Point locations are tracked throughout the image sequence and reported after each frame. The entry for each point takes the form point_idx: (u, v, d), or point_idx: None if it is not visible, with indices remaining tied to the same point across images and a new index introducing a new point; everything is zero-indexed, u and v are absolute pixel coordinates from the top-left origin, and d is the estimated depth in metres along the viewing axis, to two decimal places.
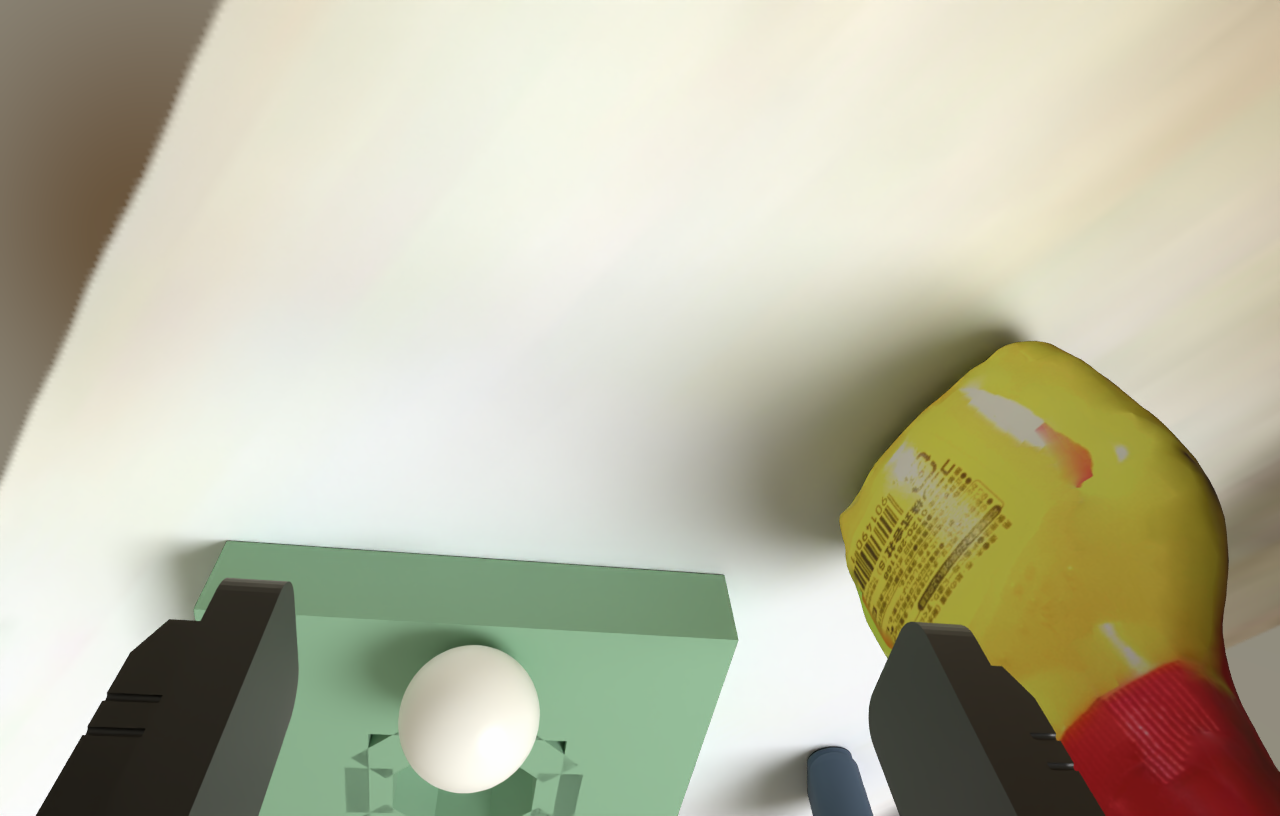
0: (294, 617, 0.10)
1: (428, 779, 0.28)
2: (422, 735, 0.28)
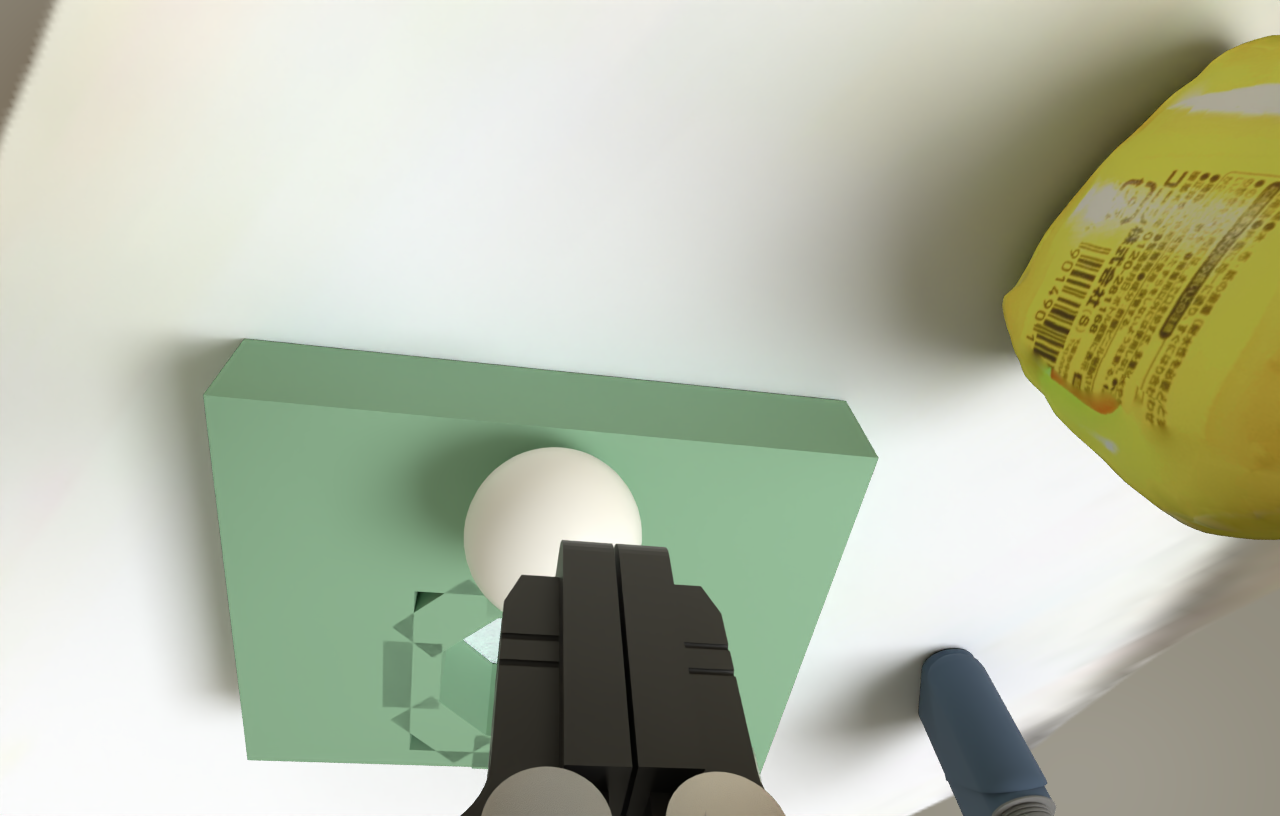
0: None
1: None
2: (500, 536, 0.21)
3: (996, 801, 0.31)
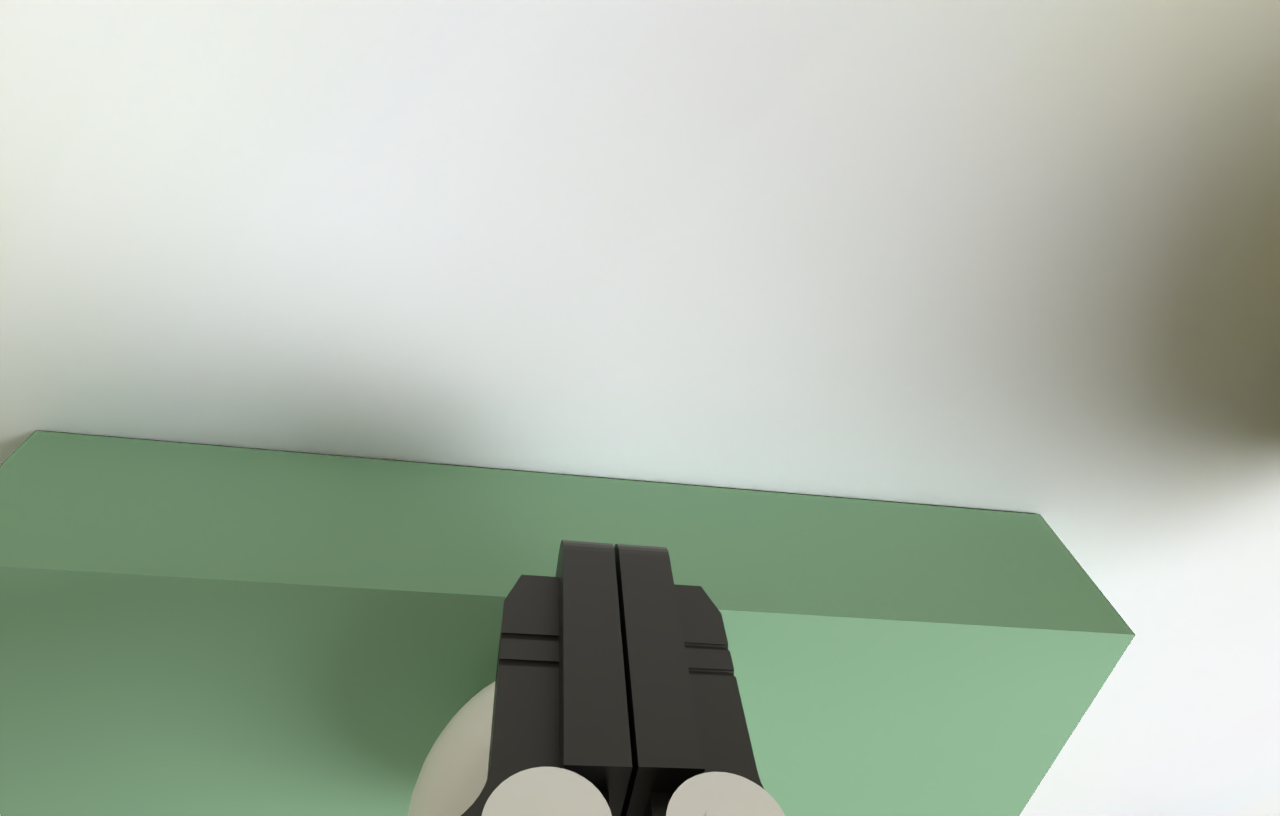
0: None
1: None
2: None
3: None
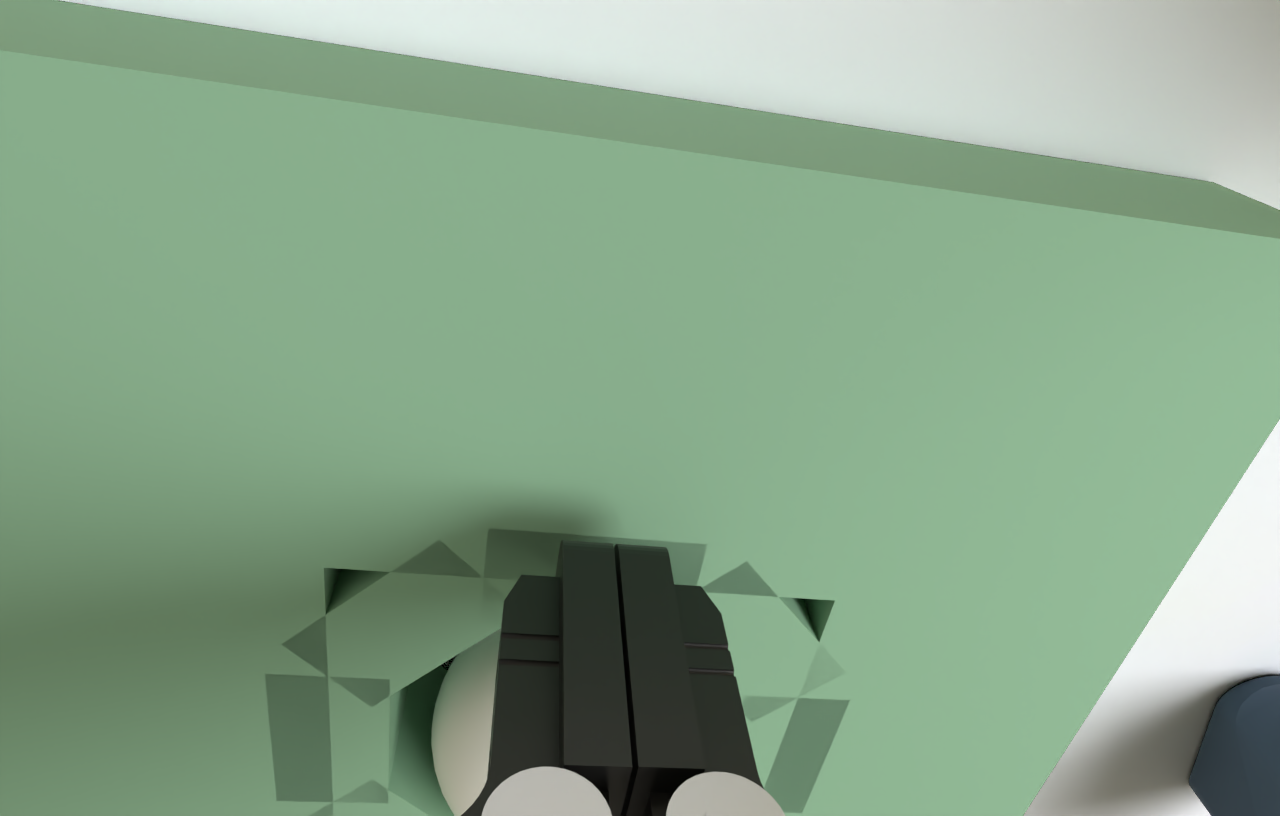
0: None
1: None
2: None
3: None
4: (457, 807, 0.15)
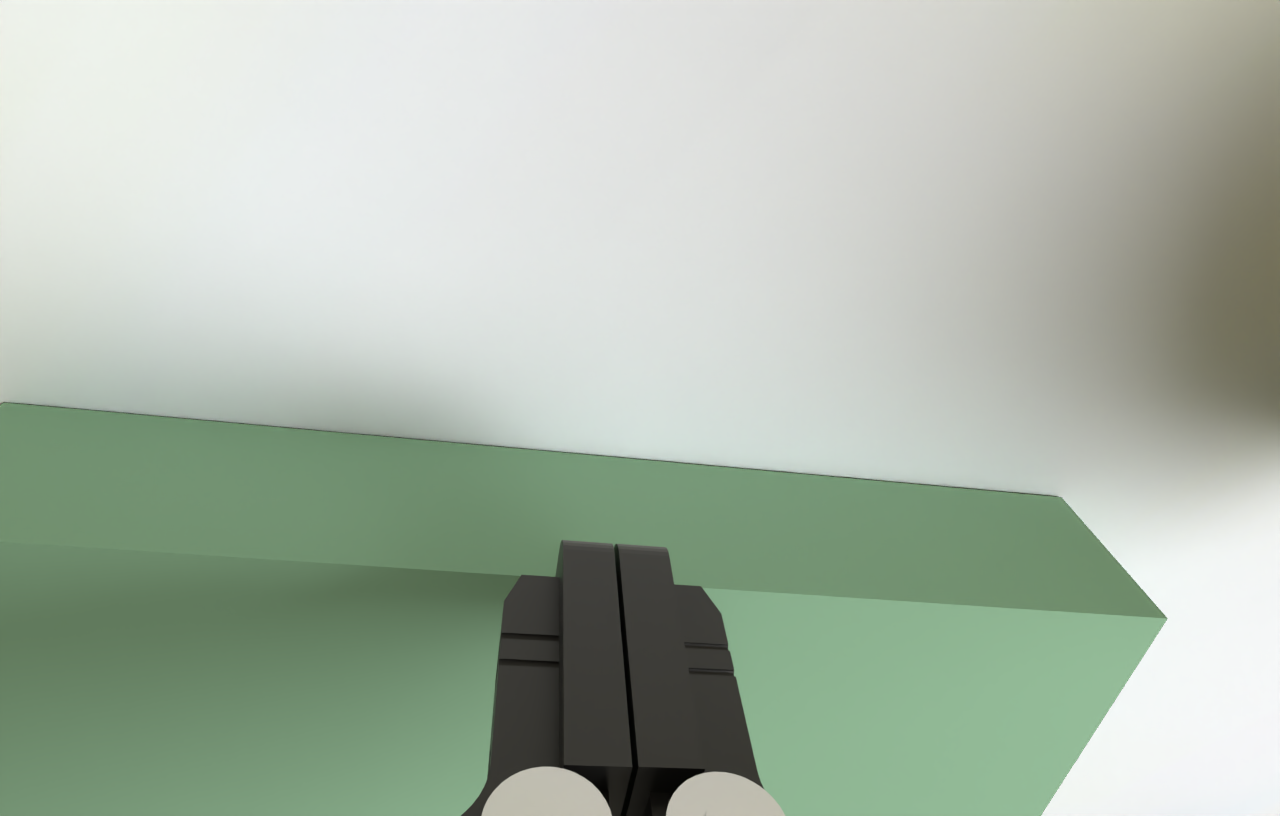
0: None
1: None
2: None
3: None
4: None
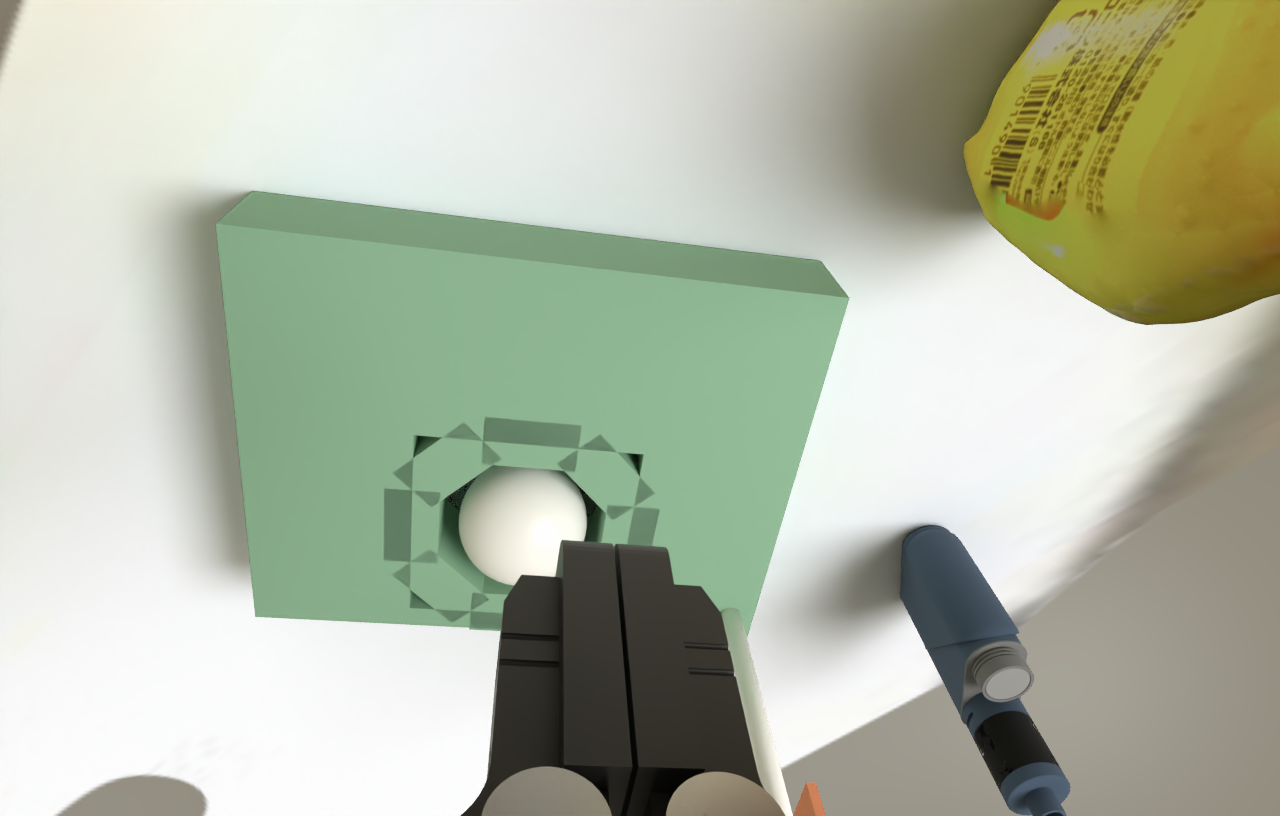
0: None
1: None
2: None
3: (970, 648, 0.32)
4: (472, 543, 0.31)
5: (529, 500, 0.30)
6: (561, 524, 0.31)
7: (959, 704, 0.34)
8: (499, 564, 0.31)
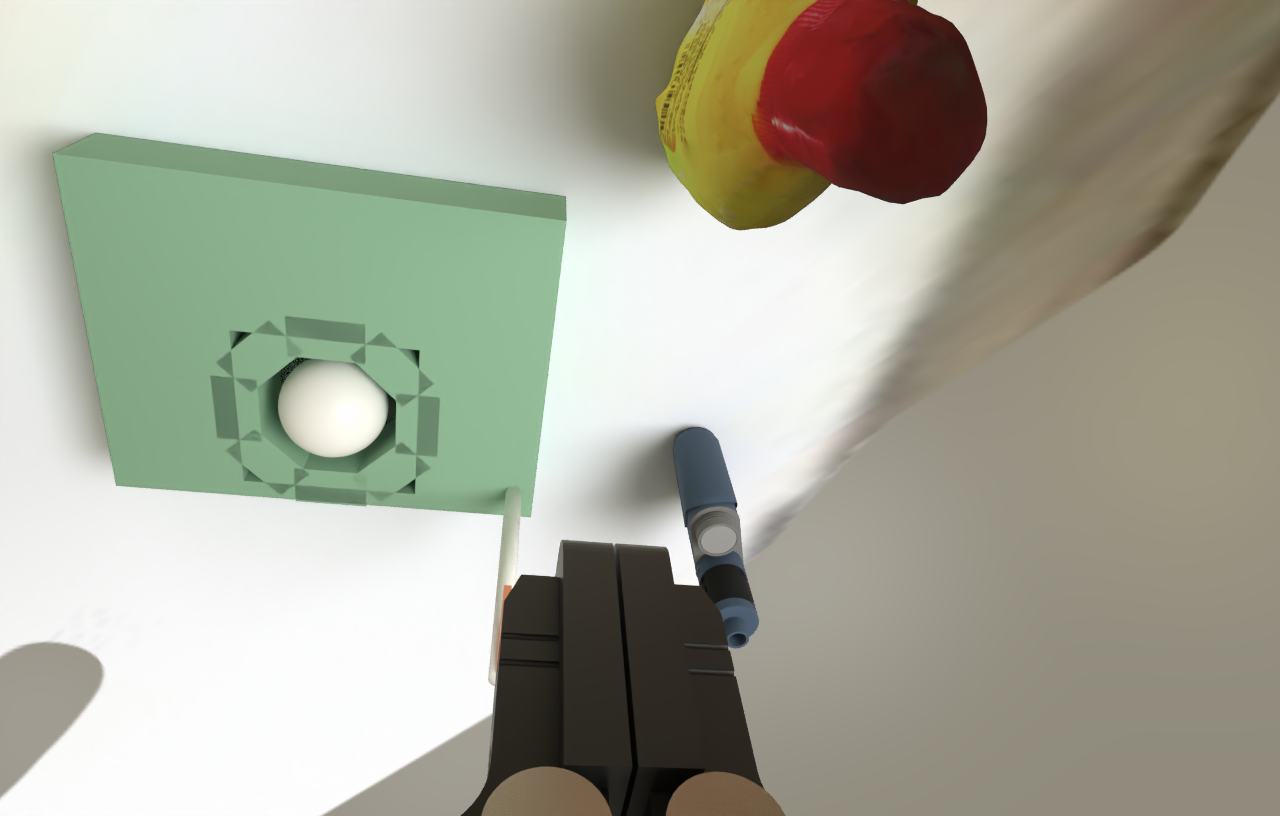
0: None
1: None
2: None
3: (693, 513, 0.40)
4: (284, 415, 0.38)
5: (330, 378, 0.38)
6: (356, 399, 0.38)
7: None
8: (305, 431, 0.38)
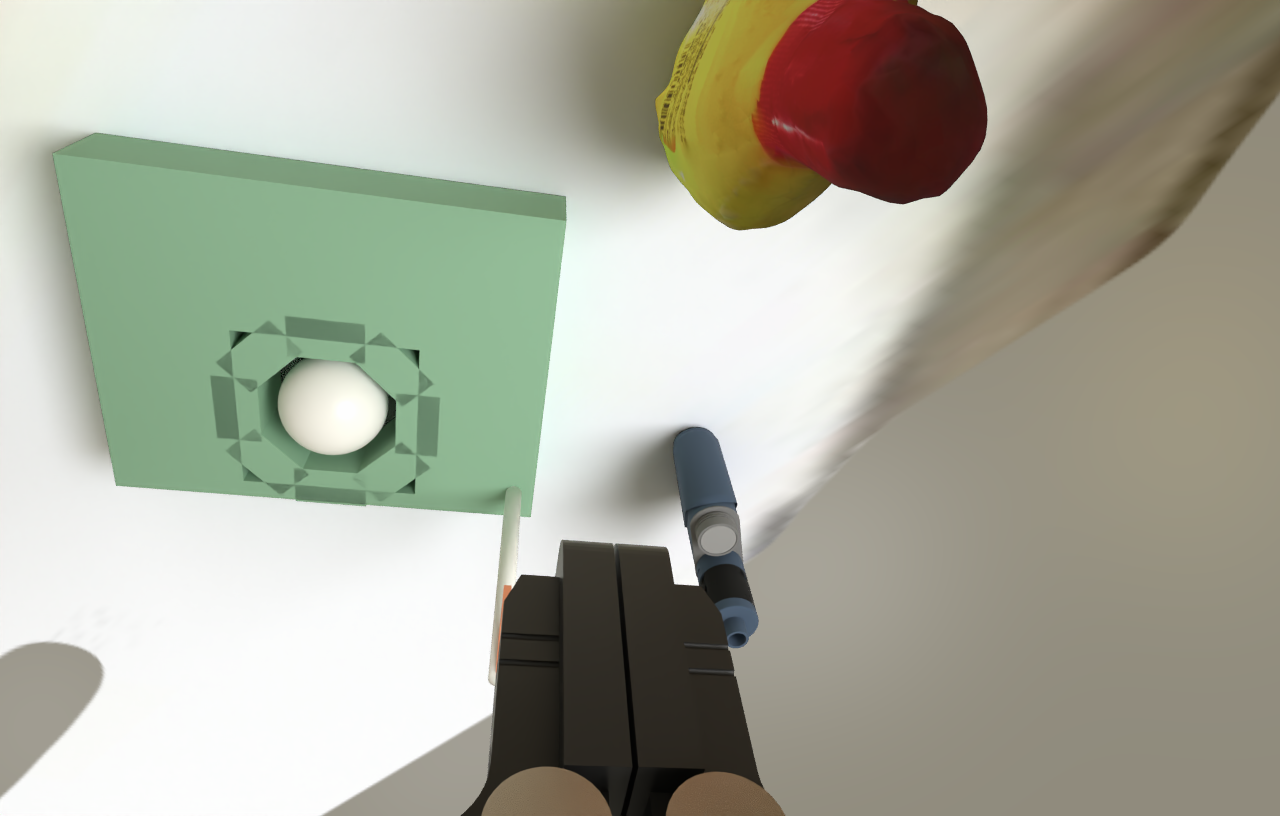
0: None
1: None
2: None
3: (693, 513, 0.40)
4: (284, 410, 0.38)
5: (330, 373, 0.38)
6: (356, 394, 0.38)
7: None
8: (304, 426, 0.38)
